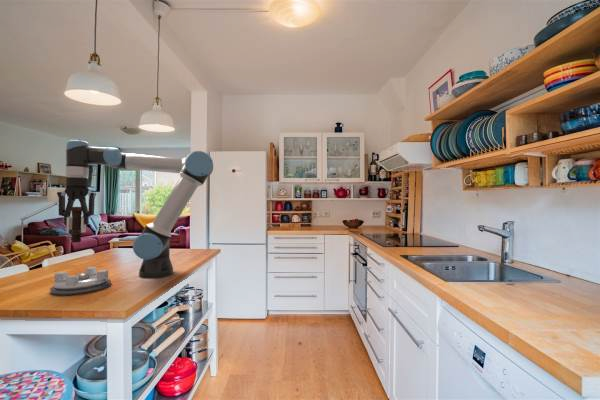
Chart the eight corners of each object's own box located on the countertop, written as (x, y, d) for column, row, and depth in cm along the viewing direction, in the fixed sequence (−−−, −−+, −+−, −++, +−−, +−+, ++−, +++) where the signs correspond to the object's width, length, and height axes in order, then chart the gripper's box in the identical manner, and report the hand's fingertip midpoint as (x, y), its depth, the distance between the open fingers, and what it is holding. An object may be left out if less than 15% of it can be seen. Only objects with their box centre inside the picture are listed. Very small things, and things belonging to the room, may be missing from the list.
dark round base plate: (118, 280, 130) (118, 276, 130) (98, 293, 111) (98, 289, 111) (67, 282, 125) (67, 278, 126) (37, 297, 106) (37, 293, 106)
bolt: (65, 242, 119) (65, 206, 119) (77, 241, 124) (78, 206, 124) (74, 243, 117) (75, 207, 117) (87, 241, 122) (87, 206, 122)
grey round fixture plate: (115, 277, 129) (115, 266, 129) (96, 288, 111) (96, 276, 111) (69, 279, 125) (69, 267, 125) (42, 292, 107) (42, 278, 107)
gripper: (104, 178, 127) (103, 231, 127) (57, 177, 122) (56, 231, 122) (97, 177, 120) (96, 233, 119) (47, 175, 115) (46, 233, 115)
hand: (76, 232), depth 121 cm, fingers closed on bolt, 4 cm apart
